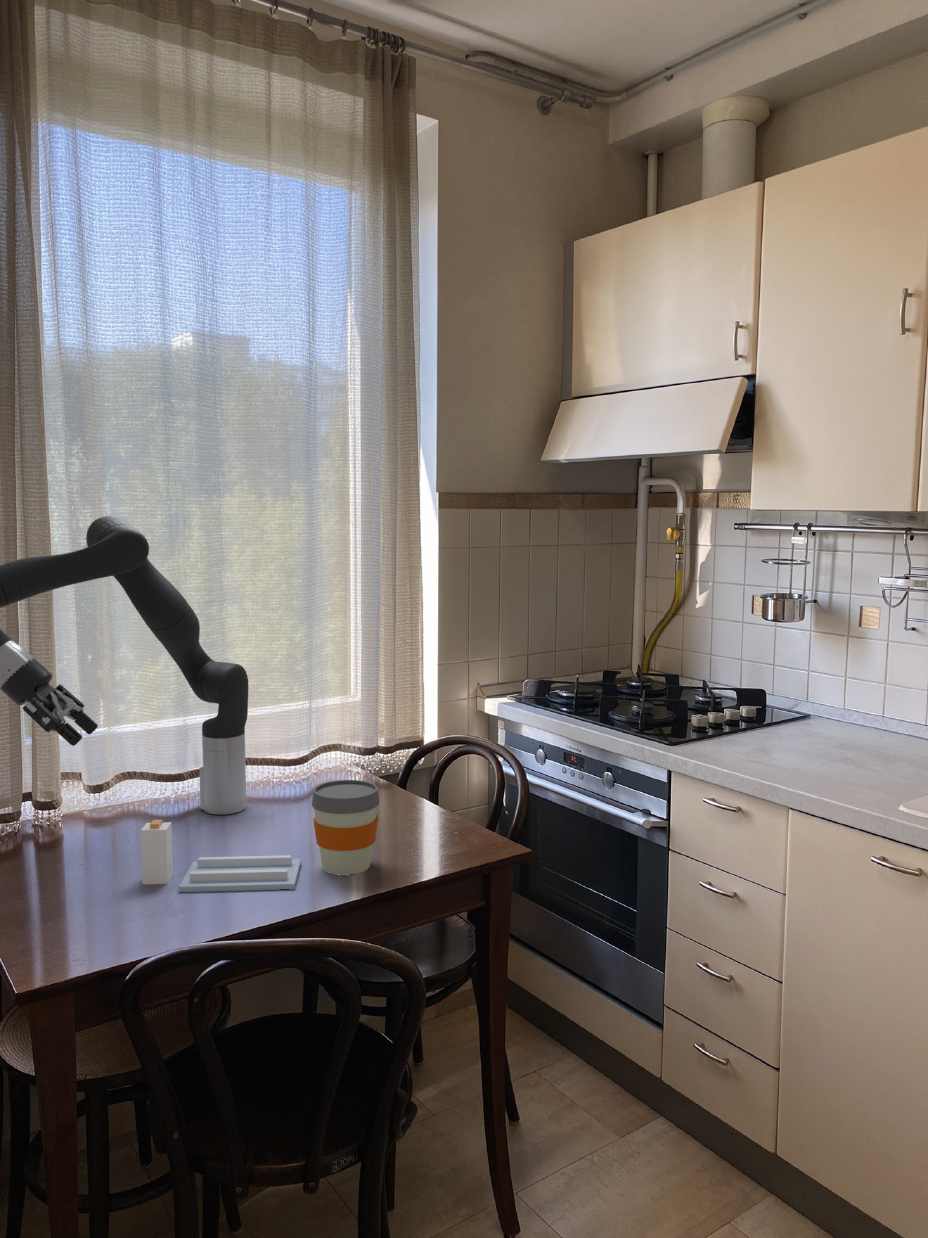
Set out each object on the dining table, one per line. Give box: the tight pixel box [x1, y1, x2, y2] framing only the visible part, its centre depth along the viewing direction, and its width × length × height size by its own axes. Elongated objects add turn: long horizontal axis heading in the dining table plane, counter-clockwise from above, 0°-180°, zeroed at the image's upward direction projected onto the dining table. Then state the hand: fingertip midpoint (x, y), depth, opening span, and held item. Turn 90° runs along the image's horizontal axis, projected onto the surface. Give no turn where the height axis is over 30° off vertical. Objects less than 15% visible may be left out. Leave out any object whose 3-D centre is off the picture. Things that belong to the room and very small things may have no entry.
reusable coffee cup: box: [311, 779, 380, 876], centre depth 172 cm, size 12×13×15 cm
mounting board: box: [178, 854, 302, 893], centre depth 167 cm, size 20×12×2 cm, turn 95°
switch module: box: [140, 819, 174, 885], centre depth 166 cm, size 4×4×11 cm
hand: (86, 736), depth 162 cm, fingers open, 8 cm apart
